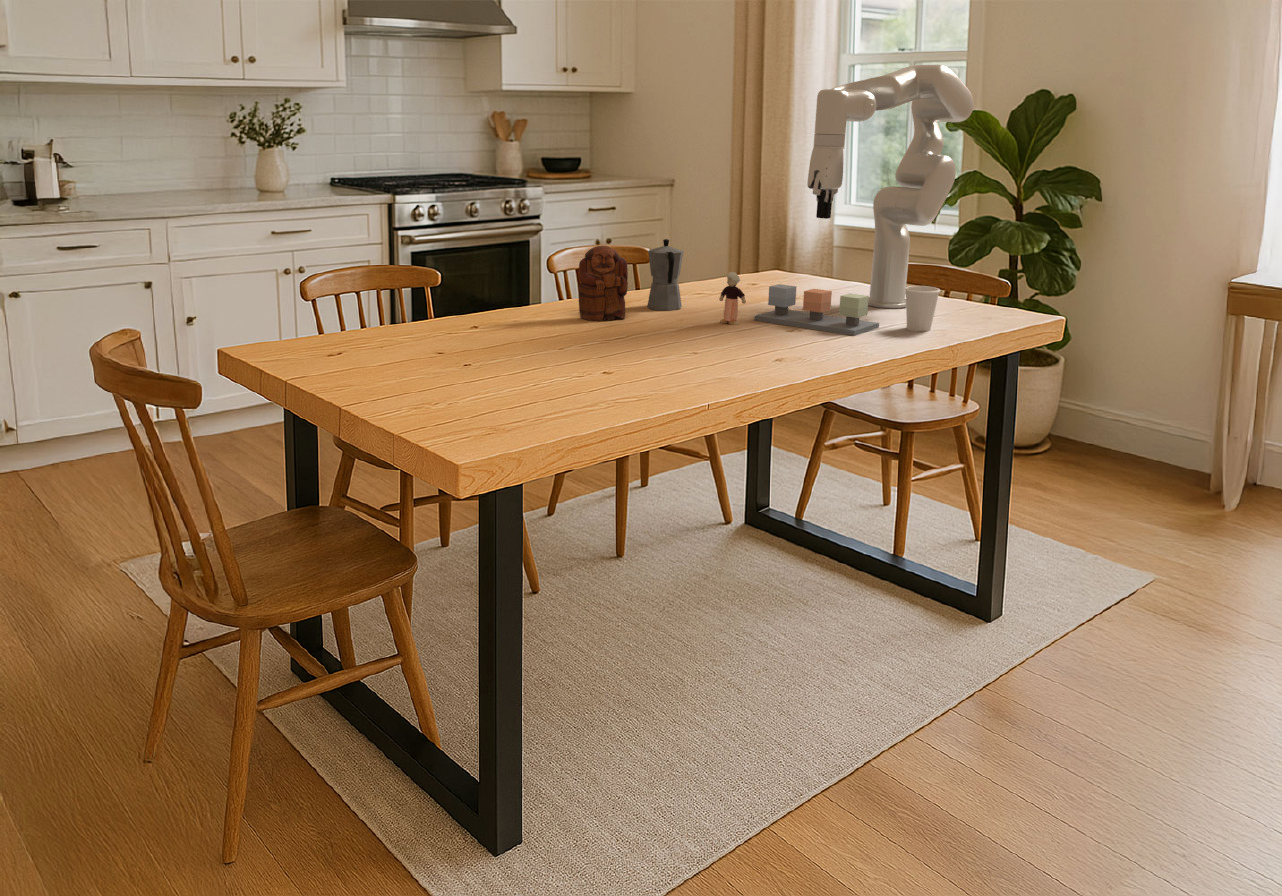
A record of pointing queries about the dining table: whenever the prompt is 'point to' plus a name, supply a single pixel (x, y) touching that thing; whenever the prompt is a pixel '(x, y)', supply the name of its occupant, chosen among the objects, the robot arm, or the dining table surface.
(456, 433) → the dining table surface
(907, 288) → the dixie cup
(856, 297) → the button sage
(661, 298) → the coffeepot
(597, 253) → the wooden figurine
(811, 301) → the button terracotta
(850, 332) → the button board
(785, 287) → the button slate
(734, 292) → the grandmother figurine
